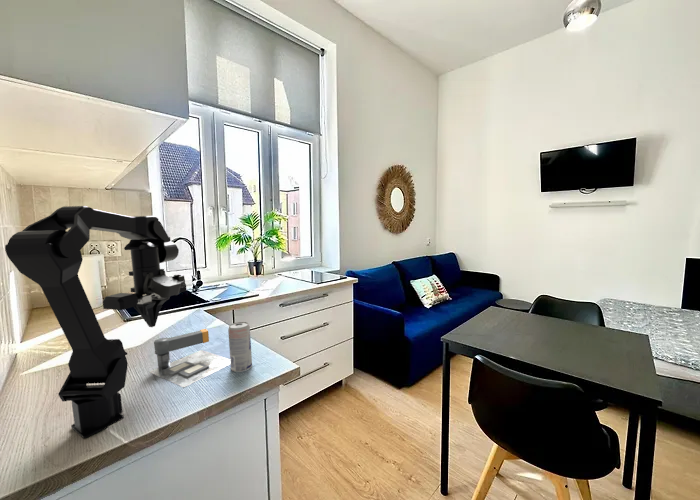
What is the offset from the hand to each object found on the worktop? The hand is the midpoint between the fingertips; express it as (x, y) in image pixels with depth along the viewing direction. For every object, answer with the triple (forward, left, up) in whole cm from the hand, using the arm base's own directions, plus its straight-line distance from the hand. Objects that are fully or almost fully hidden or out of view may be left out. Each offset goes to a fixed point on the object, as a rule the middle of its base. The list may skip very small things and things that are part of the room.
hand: (152, 326), depth 77 cm
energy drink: (+13, -17, -13) cm, 25 cm away
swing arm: (+8, 0, -8) cm, 11 cm away
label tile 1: (+5, -7, -13) cm, 16 cm away
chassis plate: (+7, -5, -13) cm, 16 cm away
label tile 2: (+4, -3, -13) cm, 14 cm away
